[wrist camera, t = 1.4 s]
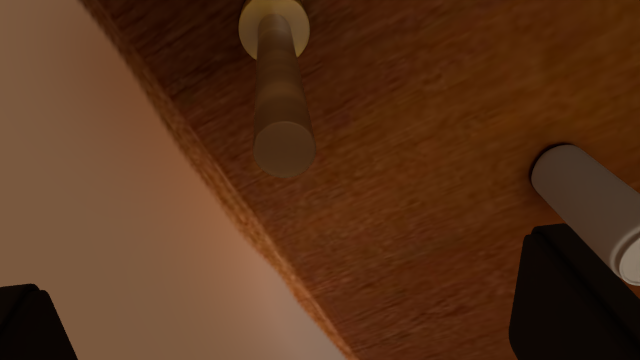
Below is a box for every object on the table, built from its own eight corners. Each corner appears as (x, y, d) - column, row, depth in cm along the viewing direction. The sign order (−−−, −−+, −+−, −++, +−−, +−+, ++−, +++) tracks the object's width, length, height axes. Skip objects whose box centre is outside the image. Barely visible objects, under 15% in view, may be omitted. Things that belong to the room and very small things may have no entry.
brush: (235, -12, 32) (201, 91, 14) (303, -18, 32) (350, 76, 15) (245, 56, 34) (226, 216, 17) (308, 49, 34) (355, 201, 17)
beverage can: (528, 198, 42) (614, 295, 32) (526, 150, 40) (619, 237, 29) (583, 184, 42) (688, 276, 32) (585, 135, 40) (699, 217, 29)
